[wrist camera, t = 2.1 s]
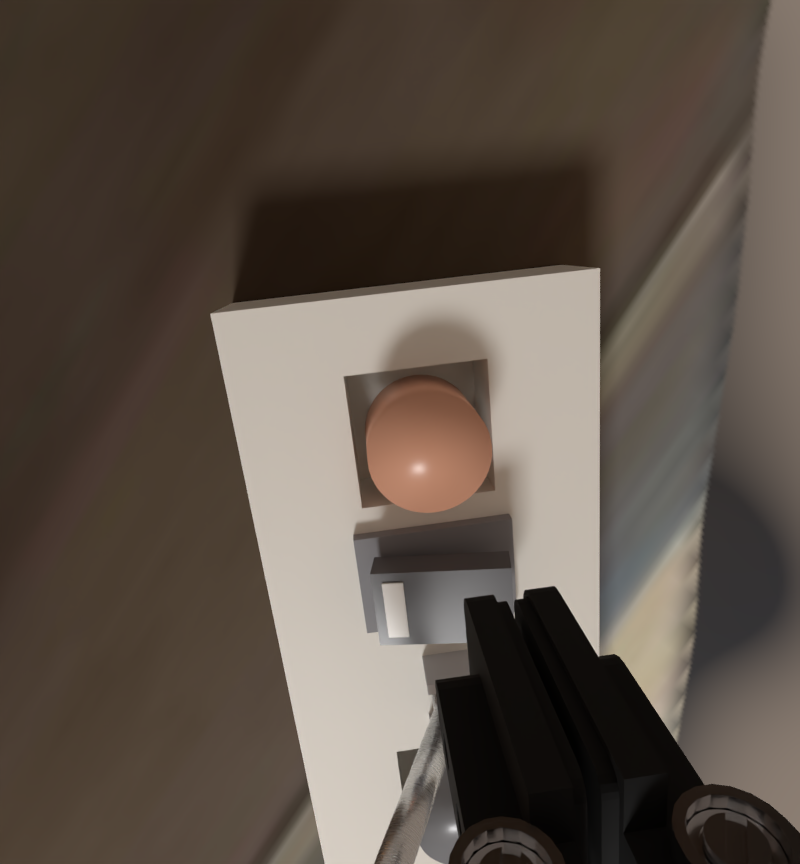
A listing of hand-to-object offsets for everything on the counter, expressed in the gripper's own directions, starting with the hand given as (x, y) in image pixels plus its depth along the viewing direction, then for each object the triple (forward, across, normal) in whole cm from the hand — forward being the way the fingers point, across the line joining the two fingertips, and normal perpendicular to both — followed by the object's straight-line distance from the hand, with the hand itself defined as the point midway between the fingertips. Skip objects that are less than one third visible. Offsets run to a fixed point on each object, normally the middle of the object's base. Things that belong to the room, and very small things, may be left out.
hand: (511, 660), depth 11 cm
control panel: (+16, 0, +9) cm, 19 cm away
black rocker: (+10, 0, +6) cm, 12 cm away
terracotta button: (+13, 0, 0) cm, 13 cm away
